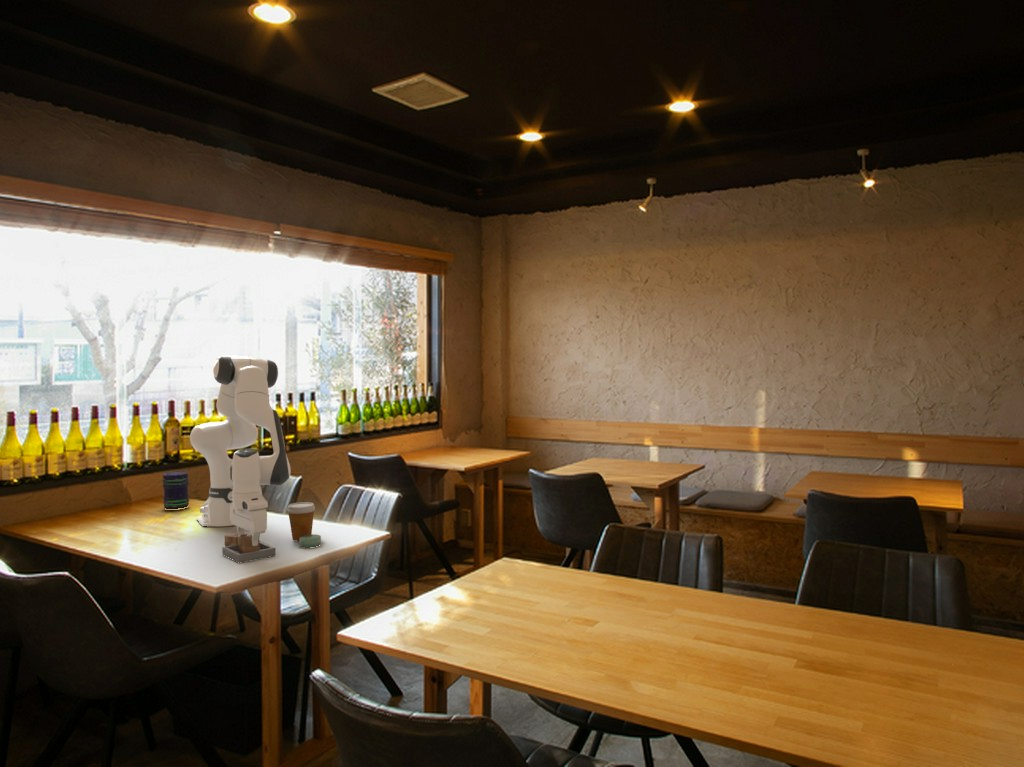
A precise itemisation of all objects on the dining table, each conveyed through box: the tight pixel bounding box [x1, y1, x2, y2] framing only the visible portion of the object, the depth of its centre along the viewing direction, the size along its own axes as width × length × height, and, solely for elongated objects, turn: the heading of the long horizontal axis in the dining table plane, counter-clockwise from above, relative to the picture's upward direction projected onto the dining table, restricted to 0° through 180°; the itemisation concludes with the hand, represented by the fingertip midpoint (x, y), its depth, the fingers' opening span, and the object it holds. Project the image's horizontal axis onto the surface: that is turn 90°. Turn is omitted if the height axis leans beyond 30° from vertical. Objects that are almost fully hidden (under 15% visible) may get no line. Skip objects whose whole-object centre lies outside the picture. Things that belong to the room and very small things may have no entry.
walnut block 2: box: [238, 534, 260, 554], centre depth 238 cm, size 5×5×5 cm
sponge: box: [298, 533, 322, 549], centre depth 250 cm, size 7×7×3 cm
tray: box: [221, 540, 277, 564], centre depth 239 cm, size 13×12×2 cm
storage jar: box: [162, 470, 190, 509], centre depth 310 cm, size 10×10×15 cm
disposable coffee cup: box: [286, 501, 316, 542], centre depth 258 cm, size 10×10×12 cm
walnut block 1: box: [224, 531, 248, 547], centre depth 246 cm, size 5×5×5 cm
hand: (248, 542), depth 238 cm, fingers open, 8 cm apart
